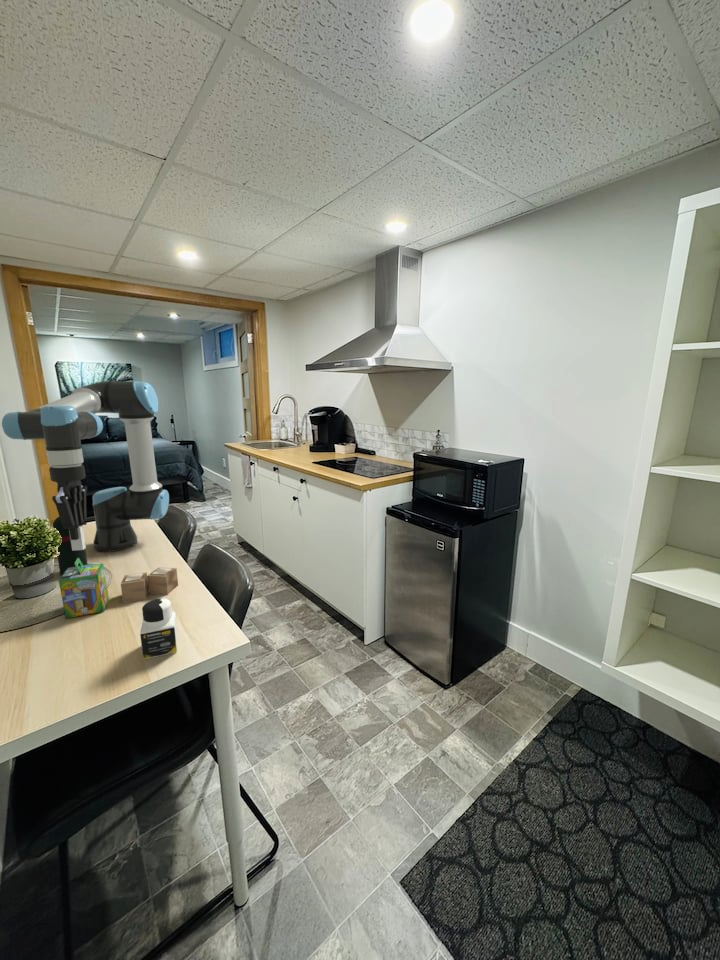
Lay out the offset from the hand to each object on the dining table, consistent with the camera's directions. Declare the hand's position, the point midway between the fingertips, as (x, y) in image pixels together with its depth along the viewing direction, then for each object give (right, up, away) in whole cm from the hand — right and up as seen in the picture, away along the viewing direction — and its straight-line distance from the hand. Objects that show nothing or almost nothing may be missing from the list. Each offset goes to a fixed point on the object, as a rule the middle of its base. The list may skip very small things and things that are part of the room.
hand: (79, 549), depth 108 cm
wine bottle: (-21, -13, +27) cm, 36 cm away
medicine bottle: (+30, -22, -13) cm, 39 cm away
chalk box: (0, -18, +4) cm, 18 cm away
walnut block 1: (+10, -16, +11) cm, 22 cm away
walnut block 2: (+16, -15, +15) cm, 27 cm away
